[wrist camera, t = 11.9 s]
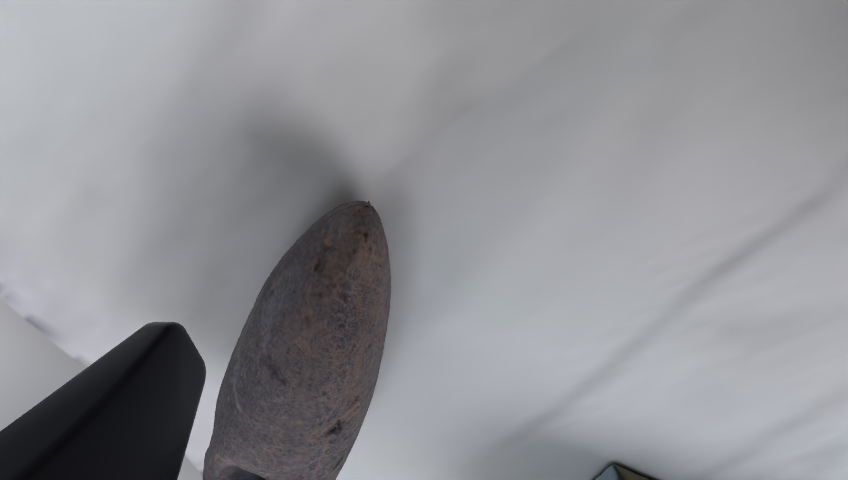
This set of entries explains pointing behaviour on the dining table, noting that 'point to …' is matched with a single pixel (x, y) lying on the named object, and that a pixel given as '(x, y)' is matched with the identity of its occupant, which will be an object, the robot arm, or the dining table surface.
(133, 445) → the robot arm
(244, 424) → the perforated stone tool
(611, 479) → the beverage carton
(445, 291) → the dining table surface
